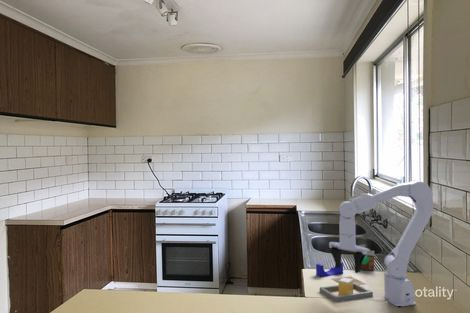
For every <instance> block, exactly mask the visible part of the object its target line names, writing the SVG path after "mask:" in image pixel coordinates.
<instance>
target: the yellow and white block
mask: <svg viewBox="0 0 470 313" xmlns="http://www.w3.org/2000/svg"><path fill="white" fill-rule="evenodd" d="M344 277H345V276H343V278H342V279H340V280H339V283H338V285H339V290H338V296H340V295H347V294H354V288H353V279H348V278H344Z"/></svg>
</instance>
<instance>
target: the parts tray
mask: <svg viewBox="0 0 470 313" xmlns="http://www.w3.org/2000/svg"><path fill="white" fill-rule="evenodd" d="M353 289H356V290H357V291H359V292H353V294H347V295H335V294H334V293H332V292H335V291H339V284H336V285H329V286H321V287H319V293H321V294H323V295H324V296H325V297H327V298H329V299H331V301H333V302H335V303H336V302H343V301H350V300H357V299H363V298H370V297H373V296H374V291H373V290H372V291H371V289H370V290H369V289H368V288H366V287H364V286H363V285H358V284H356V283H353Z"/></svg>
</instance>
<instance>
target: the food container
mask: <svg viewBox="0 0 470 313" xmlns="http://www.w3.org/2000/svg"><path fill="white" fill-rule="evenodd" d="M358 246H360V247H363V248H367V254H366V256H365V257H364V259H363V261H362V264H361V267H360V269H363V270H367V271H373V272H374V271H375V269H374V268H375V257H376V256H375V250H371V249H370V248H368V247H366V244H360V245H358Z"/></svg>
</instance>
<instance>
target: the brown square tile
mask: <svg viewBox="0 0 470 313" xmlns="http://www.w3.org/2000/svg"><path fill="white" fill-rule="evenodd" d="M343 277H344V278H348V279H353V283H356V284H358V285H360V286H363V285H366V282H363V281H361V280H359V279H357V278H354V277H353V276H351V275H350V276H349V275H348V276H343ZM343 277H334V278H331V280H332V281H334V282H335V283H337V284H339V280H340V279H342V278H343Z"/></svg>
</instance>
